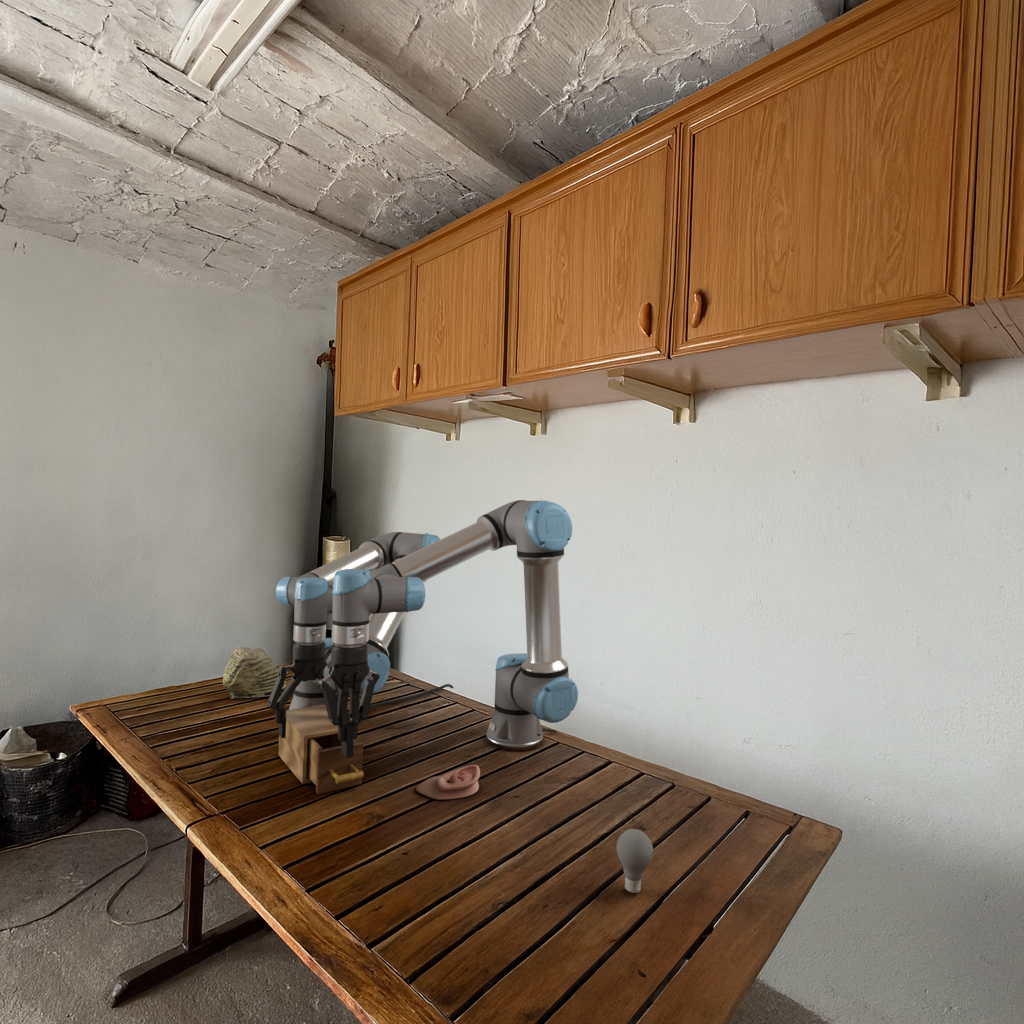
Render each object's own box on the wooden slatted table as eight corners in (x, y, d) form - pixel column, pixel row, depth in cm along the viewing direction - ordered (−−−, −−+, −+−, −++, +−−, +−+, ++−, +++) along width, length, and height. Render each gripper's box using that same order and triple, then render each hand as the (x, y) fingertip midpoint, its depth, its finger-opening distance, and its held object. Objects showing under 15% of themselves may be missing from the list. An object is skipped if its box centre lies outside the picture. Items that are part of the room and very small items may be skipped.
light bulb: (610, 879, 108) (613, 822, 108) (644, 879, 109) (647, 822, 109) (619, 902, 102) (622, 840, 102) (655, 901, 103) (658, 840, 103)
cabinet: (350, 773, 145) (351, 727, 145) (302, 784, 139) (303, 735, 138) (322, 746, 160) (323, 704, 160) (278, 755, 154) (279, 711, 154)
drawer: (372, 794, 133) (373, 752, 133) (327, 805, 128) (328, 761, 127) (333, 756, 152) (334, 719, 152) (292, 764, 147) (293, 726, 146)
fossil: (218, 695, 195) (220, 647, 195) (278, 685, 208) (279, 640, 207) (228, 703, 189) (230, 653, 188) (289, 692, 201) (290, 645, 201)
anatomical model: (411, 777, 135) (429, 756, 147) (410, 795, 136) (428, 773, 147) (471, 785, 133) (484, 763, 144) (470, 804, 133) (483, 781, 144)
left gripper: (263, 650, 144) (260, 746, 144) (361, 640, 157) (358, 728, 158) (255, 643, 150) (252, 735, 150) (350, 634, 164) (346, 719, 164)
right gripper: (325, 651, 126) (322, 768, 126) (386, 643, 133) (383, 754, 134) (313, 643, 132) (310, 755, 132) (372, 636, 139) (369, 742, 140)
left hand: (306, 731), depth 154 cm, fingers closed on cabinet, 11 cm apart
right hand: (347, 754), depth 133 cm, fingers closed
